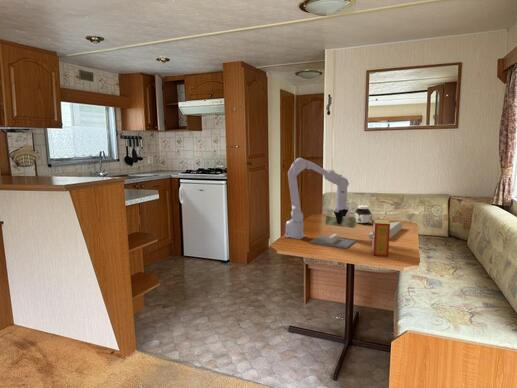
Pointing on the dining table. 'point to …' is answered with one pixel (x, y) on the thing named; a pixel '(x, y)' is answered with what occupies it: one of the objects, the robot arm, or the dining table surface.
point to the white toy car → (363, 215)
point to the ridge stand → (333, 241)
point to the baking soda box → (380, 237)
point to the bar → (346, 221)
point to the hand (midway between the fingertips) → (340, 223)
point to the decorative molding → (391, 229)
